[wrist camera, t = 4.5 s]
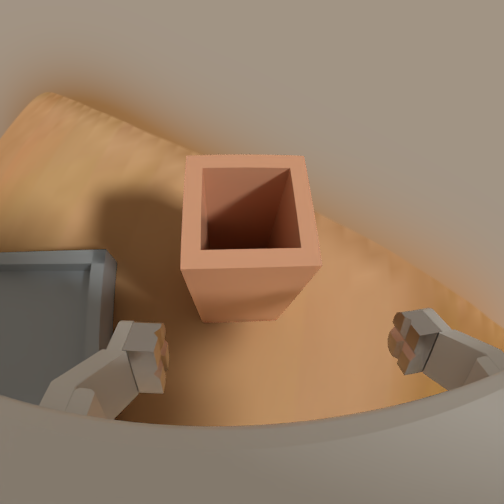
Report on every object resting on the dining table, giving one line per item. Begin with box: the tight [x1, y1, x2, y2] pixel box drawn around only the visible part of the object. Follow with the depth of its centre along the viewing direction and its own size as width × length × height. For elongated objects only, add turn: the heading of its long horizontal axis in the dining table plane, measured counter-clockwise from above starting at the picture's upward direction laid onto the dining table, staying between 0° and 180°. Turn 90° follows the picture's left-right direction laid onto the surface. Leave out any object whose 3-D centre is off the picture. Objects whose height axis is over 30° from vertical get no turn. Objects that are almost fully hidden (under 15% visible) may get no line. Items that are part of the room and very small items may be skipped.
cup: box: [180, 155, 322, 323], centre depth 17 cm, size 5×5×11 cm
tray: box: [0, 249, 117, 405], centre depth 17 cm, size 14×16×2 cm
